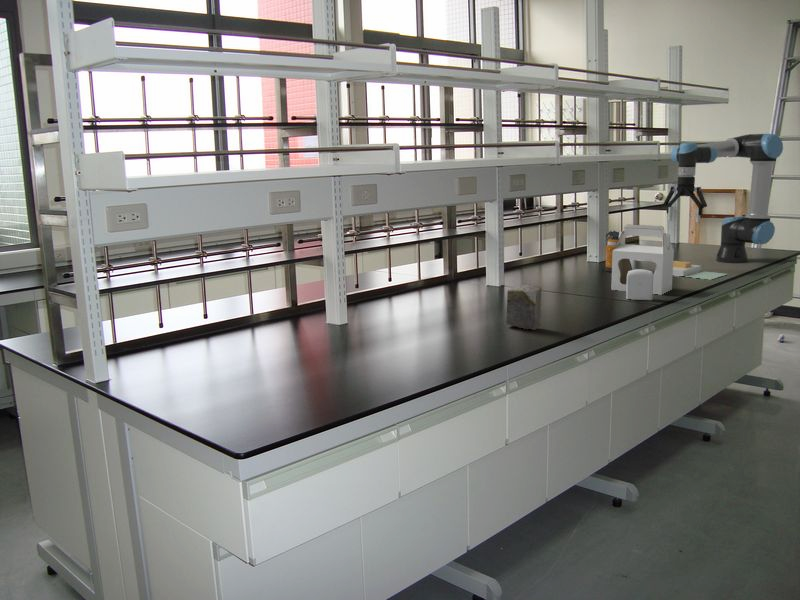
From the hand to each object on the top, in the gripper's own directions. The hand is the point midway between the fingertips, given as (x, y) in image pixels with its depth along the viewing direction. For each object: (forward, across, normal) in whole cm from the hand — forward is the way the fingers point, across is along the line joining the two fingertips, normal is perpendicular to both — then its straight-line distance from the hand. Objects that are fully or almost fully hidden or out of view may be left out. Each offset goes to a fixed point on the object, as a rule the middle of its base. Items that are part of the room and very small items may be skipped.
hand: (683, 221), depth 348 cm
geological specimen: (+26, +5, -136) cm, 139 cm away
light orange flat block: (+22, -1, 0) cm, 22 cm away
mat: (+25, +13, -2) cm, 28 cm away
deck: (+25, -1, -1) cm, 25 cm away
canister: (+25, -27, -15) cm, 40 cm away
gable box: (+25, +5, -50) cm, 56 cm away
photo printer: (+25, +14, -68) cm, 74 cm away
